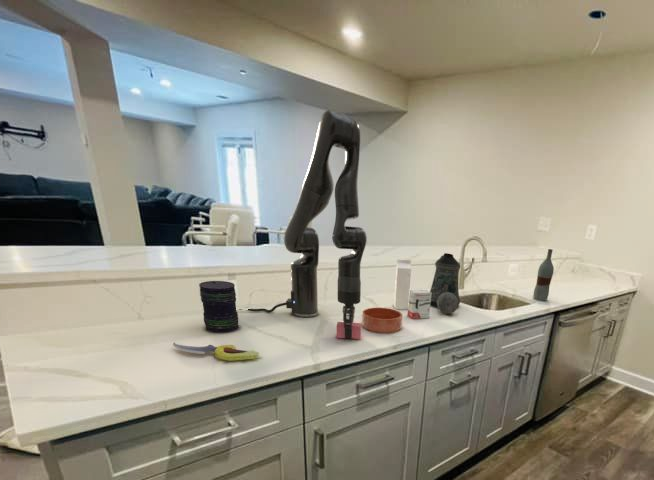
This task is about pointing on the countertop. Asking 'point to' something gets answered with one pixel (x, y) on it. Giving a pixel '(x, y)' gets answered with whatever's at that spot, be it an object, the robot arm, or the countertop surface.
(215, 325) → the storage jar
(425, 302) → the ink box
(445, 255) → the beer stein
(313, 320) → the countertop surface
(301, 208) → the robot arm
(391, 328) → the bowl
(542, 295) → the bottle
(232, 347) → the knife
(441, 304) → the decorative ball
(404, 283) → the milk
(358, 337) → the eraser
